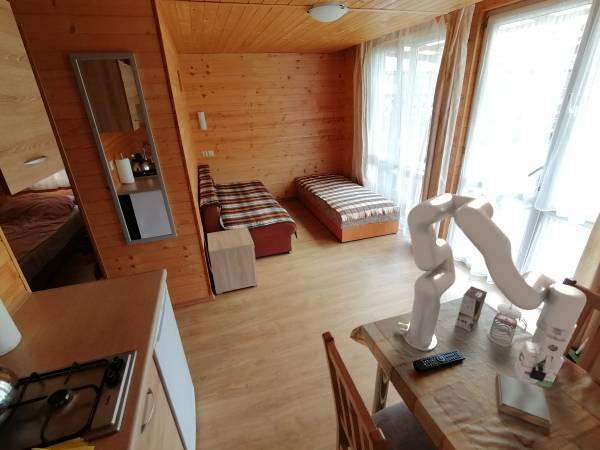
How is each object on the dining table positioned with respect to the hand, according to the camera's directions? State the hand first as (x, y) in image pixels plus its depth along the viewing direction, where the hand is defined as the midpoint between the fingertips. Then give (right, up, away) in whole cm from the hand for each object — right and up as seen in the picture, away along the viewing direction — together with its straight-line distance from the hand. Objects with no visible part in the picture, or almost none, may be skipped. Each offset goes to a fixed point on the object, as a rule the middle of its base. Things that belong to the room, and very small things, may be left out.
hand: (534, 370), depth 91 cm
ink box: (0, -3, +1) cm, 3 cm away
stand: (0, -13, +6) cm, 14 cm away
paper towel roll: (+19, -7, +19) cm, 28 cm away
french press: (+11, -2, +31) cm, 33 cm away
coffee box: (+1, +2, +39) cm, 39 cm away
